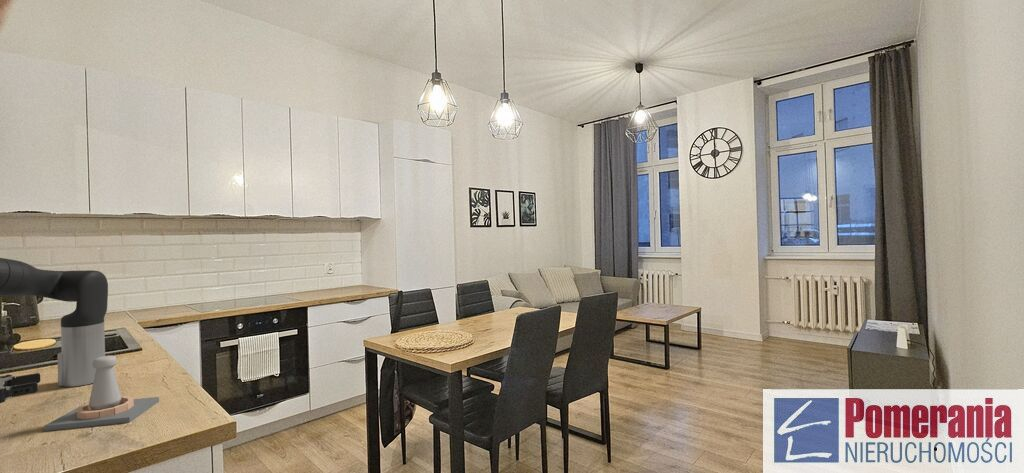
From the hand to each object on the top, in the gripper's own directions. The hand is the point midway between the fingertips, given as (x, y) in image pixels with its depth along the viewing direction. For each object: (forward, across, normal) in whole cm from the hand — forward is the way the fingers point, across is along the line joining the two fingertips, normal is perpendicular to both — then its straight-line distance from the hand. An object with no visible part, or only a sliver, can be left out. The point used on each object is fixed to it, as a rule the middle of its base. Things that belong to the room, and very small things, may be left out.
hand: (38, 382), depth 98 cm
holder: (+11, 0, +11) cm, 15 cm away
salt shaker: (+11, 0, +10) cm, 15 cm away
